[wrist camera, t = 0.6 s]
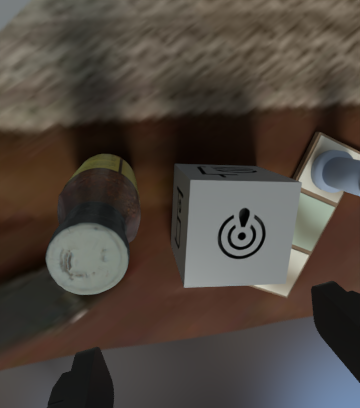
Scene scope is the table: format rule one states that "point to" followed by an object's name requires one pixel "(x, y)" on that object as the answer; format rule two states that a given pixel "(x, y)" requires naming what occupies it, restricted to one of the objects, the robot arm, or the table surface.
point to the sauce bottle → (95, 226)
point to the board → (309, 211)
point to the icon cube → (232, 224)
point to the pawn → (336, 172)
